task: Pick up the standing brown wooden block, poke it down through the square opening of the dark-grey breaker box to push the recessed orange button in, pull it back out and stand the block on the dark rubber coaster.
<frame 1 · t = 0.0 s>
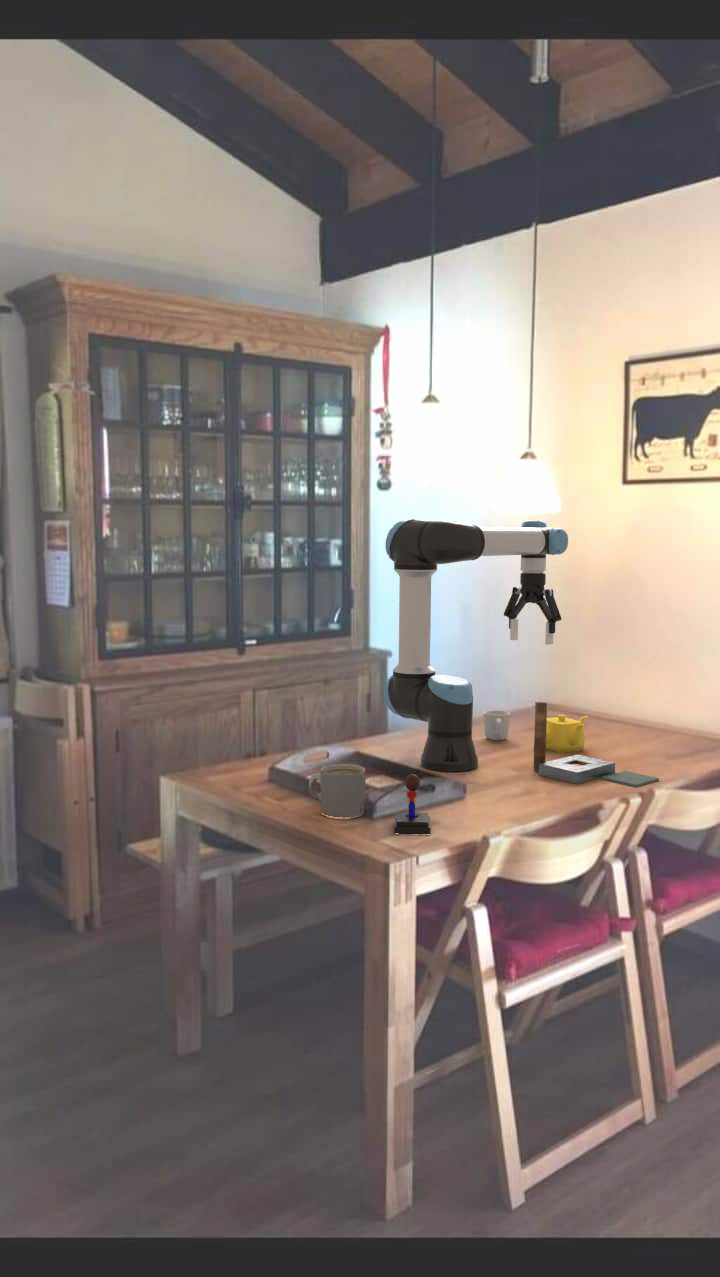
hand: (531, 642, 315), 28 cm above the table, fingers open, 13 cm apart
brown wooden block: (539, 770, 271), on the table
button: (577, 767, 267), point 2 cm above the table, slide at 0.0 cm
coaster: (630, 779, 262), on the table
cup: (496, 740, 308), on the table
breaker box: (576, 774, 267), on the table
coffee mug: (336, 812, 232), on the table
teapot: (561, 748, 298), on the table
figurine: (412, 829, 220), on the table
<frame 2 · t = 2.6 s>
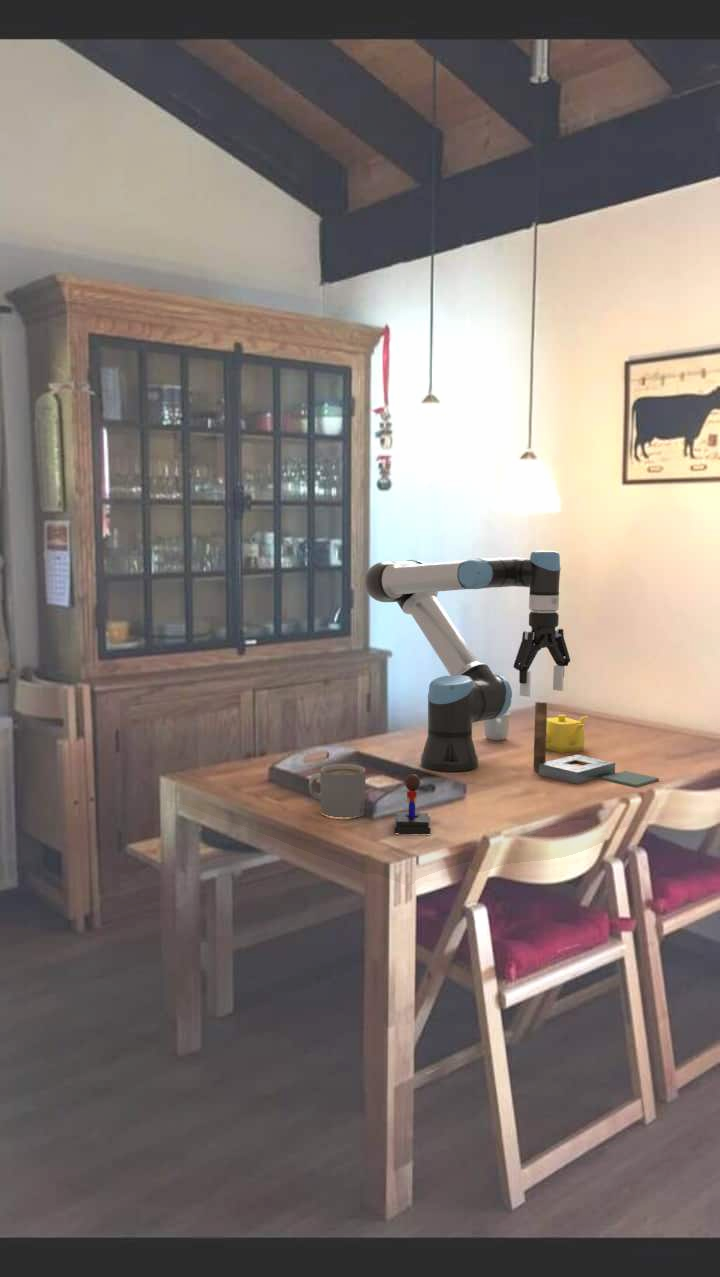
hand: (541, 693, 269), 20 cm above the table, fingers open, 13 cm apart
nothing on the table moved.
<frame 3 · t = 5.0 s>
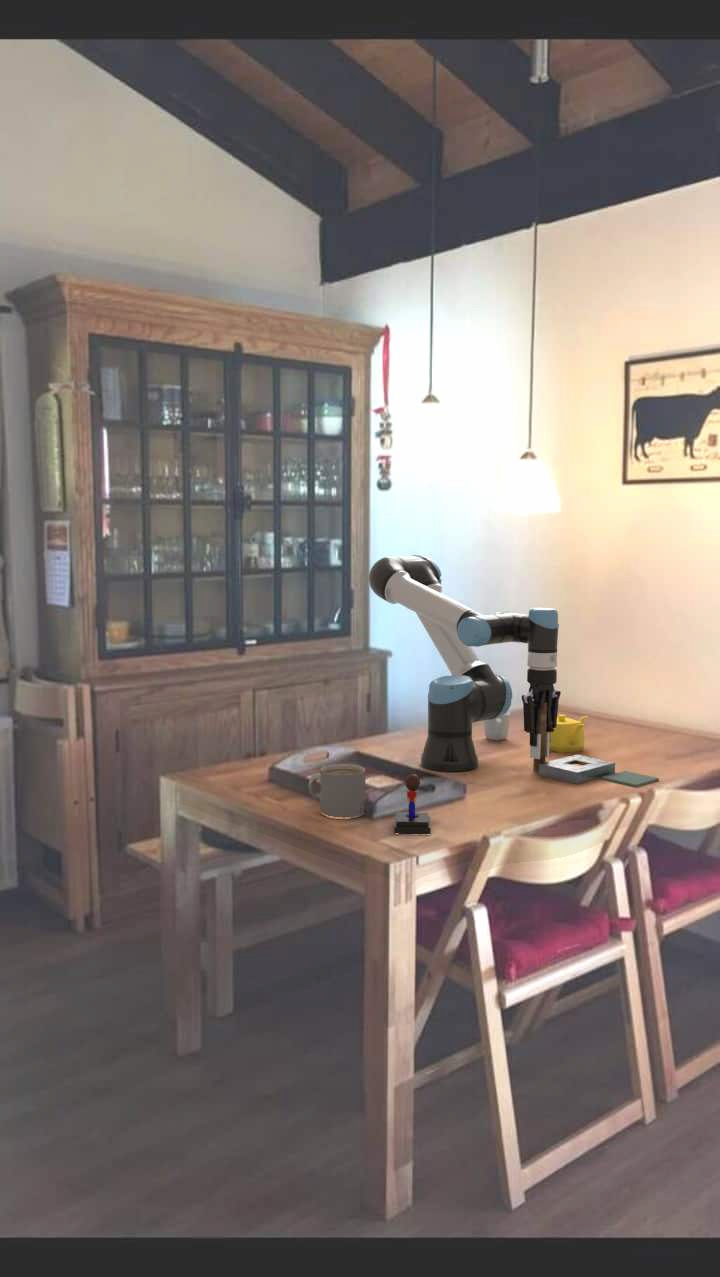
hand: (539, 756, 271), 4 cm above the table, fingers closed on brown wooden block, 3 cm apart
brown wooden block: (539, 770, 271), on the table, touching gripper
everything else where it was.
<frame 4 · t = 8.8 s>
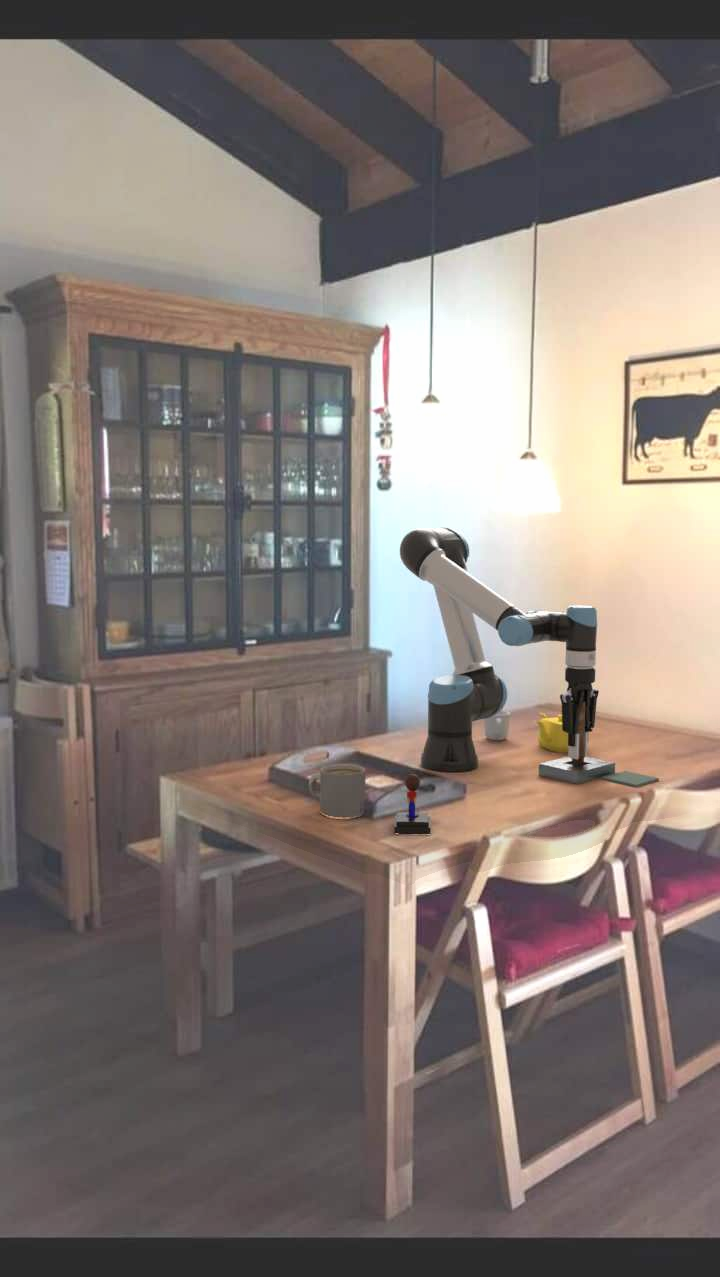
hand: (577, 757, 267), 5 cm above the table, fingers closed on brown wooden block, 3 cm apart
brown wooden block: (577, 770, 267), point 1 cm above the table, touching button, gripper
button: (577, 771, 267), point 1 cm above the table, slide at 1.2 cm, touching brown wooden block
everything else where it was.
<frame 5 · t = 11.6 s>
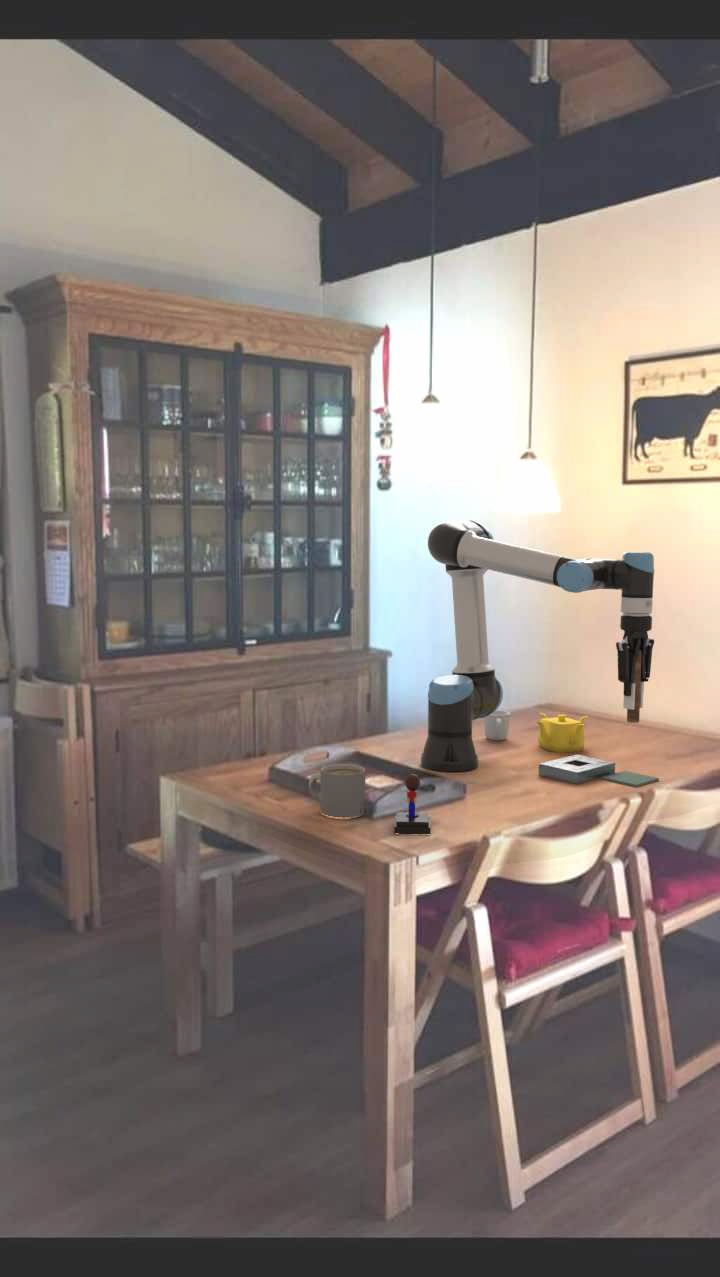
hand: (633, 707, 260), 18 cm above the table, fingers closed on brown wooden block, 3 cm apart
brown wooden block: (633, 721, 260), point 15 cm above the table, touching gripper
button: (576, 771, 267), point 1 cm above the table, slide at 1.2 cm
everything else where it was.
when the fingers open (5 cm above the table, at t = 14.2 s): brown wooden block stays where it is, resting on coaster.
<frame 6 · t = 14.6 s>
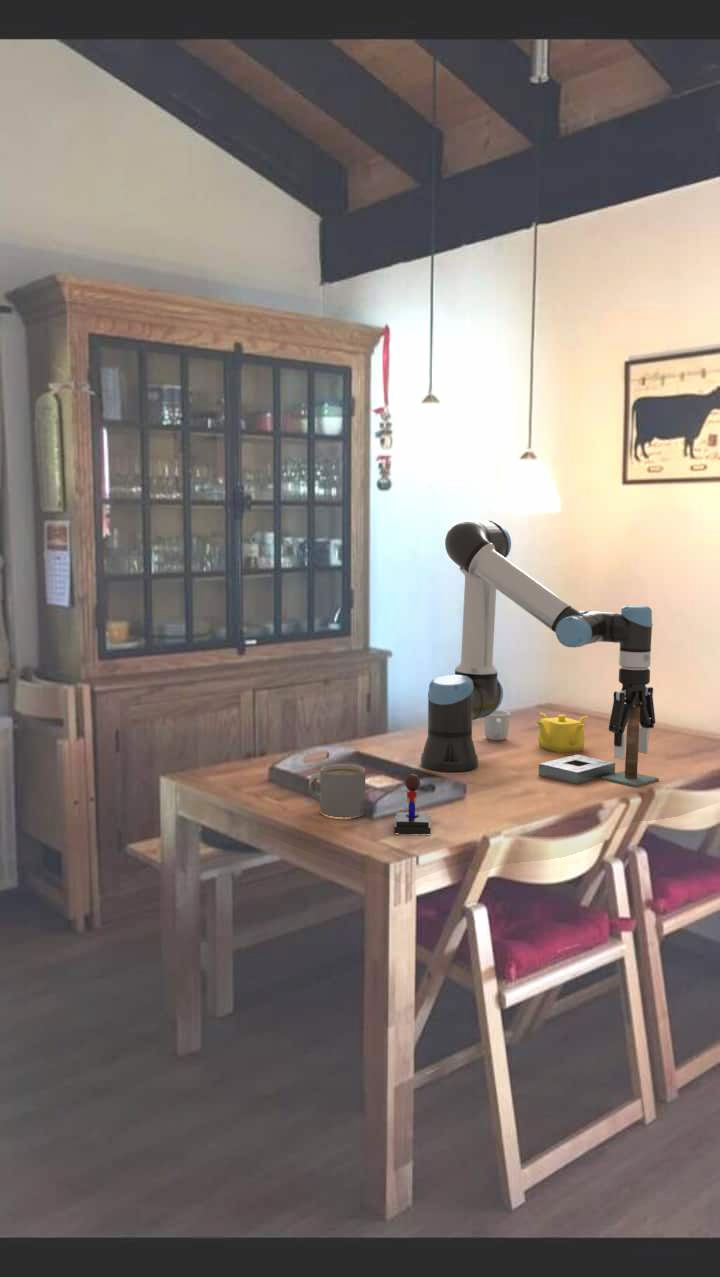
hand: (631, 755, 262), 6 cm above the table, fingers open, 9 cm apart
brown wooden block: (630, 777, 262), point 1 cm above the table, touching coaster
everything else where it was.
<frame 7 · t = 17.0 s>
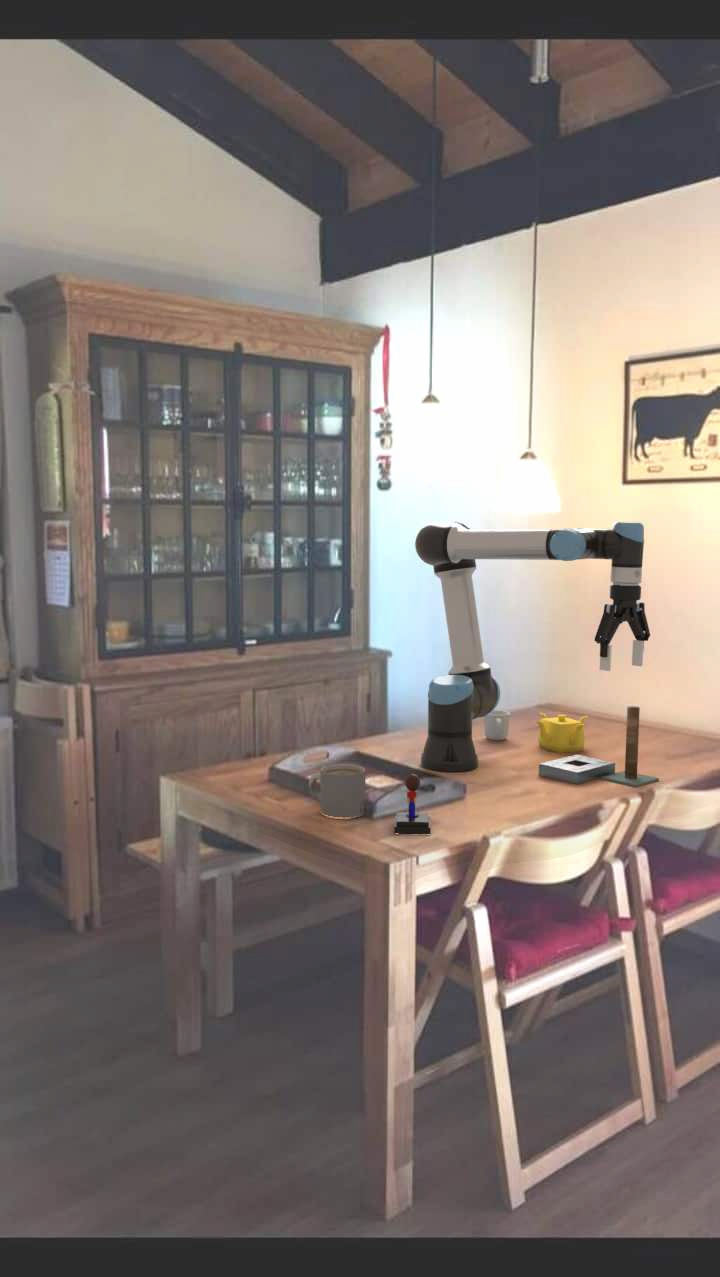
hand: (621, 668, 263), 28 cm above the table, fingers open, 13 cm apart
nothing on the table moved.
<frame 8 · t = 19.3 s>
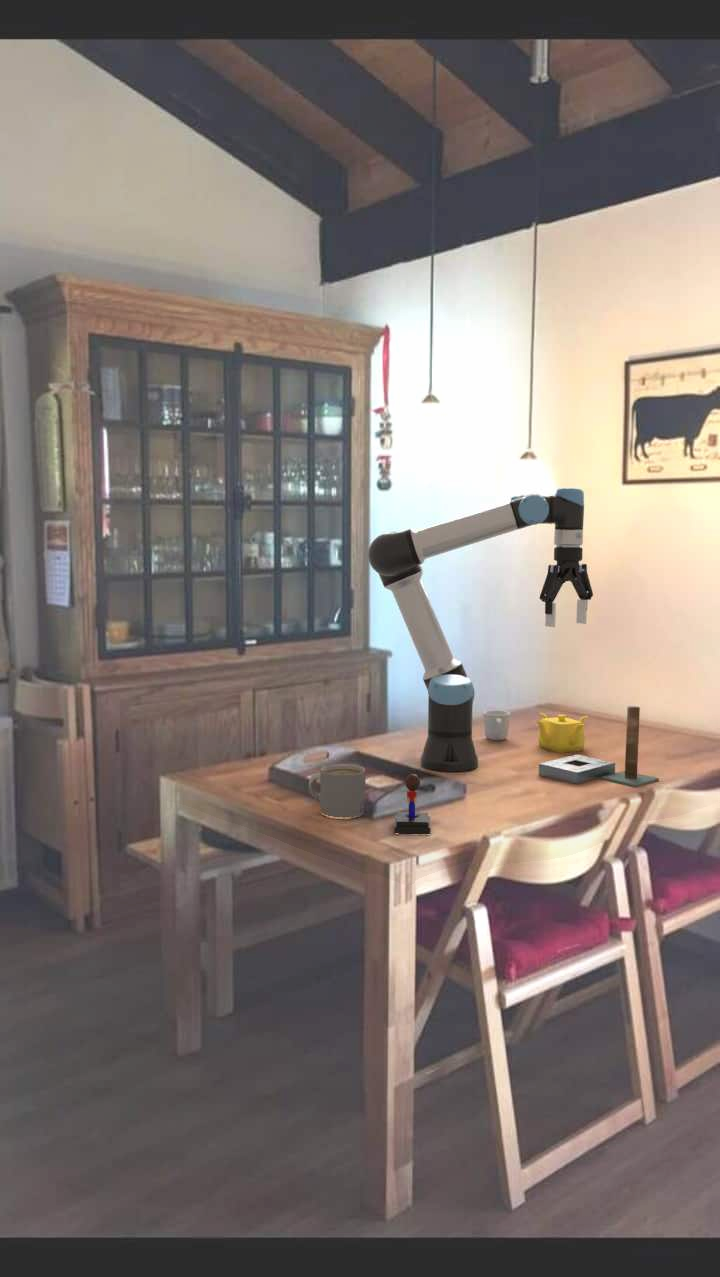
hand: (566, 625, 281), 37 cm above the table, fingers open, 13 cm apart
nothing on the table moved.
at the end: button slide at 1.2 cm; brown wooden block inside the target area on the coaster (0.1 cm from its centre), point 0.6 cm above the coaster's base; brown wooden block tilted 0° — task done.
